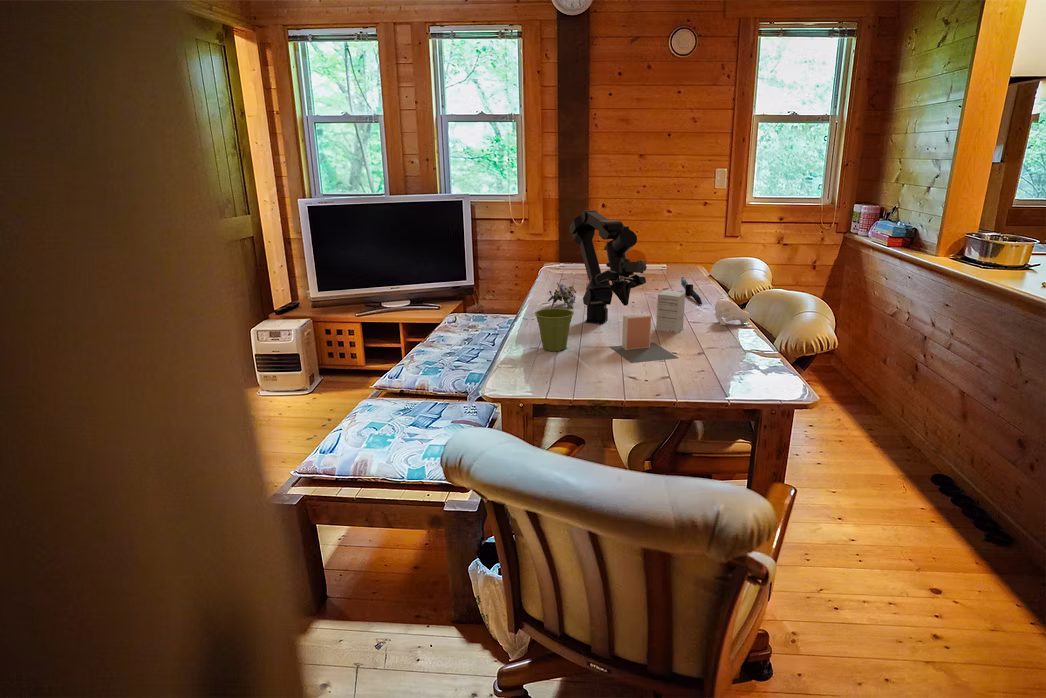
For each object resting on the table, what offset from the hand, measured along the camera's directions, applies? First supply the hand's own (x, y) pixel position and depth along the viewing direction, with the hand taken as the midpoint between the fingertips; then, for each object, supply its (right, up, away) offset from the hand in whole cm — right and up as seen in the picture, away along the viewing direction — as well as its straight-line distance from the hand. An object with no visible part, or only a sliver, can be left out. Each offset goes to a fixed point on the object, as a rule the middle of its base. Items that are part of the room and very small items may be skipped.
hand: (626, 305), depth 193 cm
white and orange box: (+2, -13, -7) cm, 15 cm away
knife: (+36, +7, +59) cm, 69 cm away
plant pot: (-23, -14, -5) cm, 27 cm away
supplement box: (+17, -8, +13) cm, 22 cm away
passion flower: (-17, +2, +45) cm, 48 cm away
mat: (+3, -15, -11) cm, 19 cm away
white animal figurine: (+40, -5, +19) cm, 44 cm away
